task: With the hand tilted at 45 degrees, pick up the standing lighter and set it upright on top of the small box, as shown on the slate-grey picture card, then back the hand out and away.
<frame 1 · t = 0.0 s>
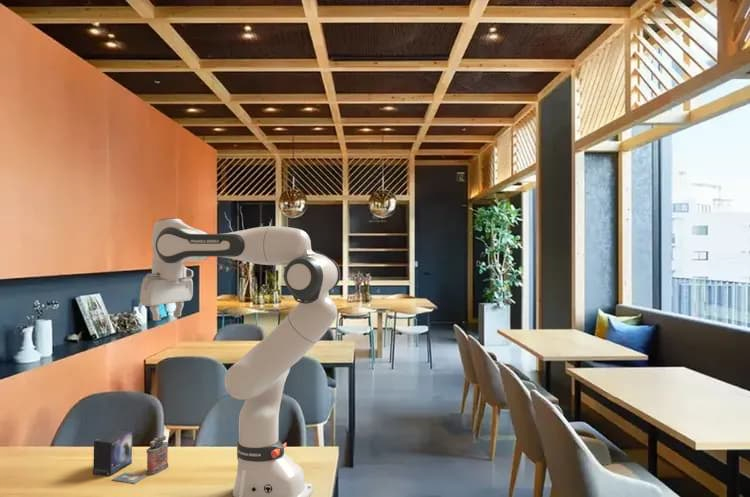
hand: (167, 318, 162), 48 cm above the table, tool pointing down, fingers open, 8 cm apart
small box: (113, 469, 168), on the table
lighter: (157, 471, 167), on the table
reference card: (129, 478, 161), on the table
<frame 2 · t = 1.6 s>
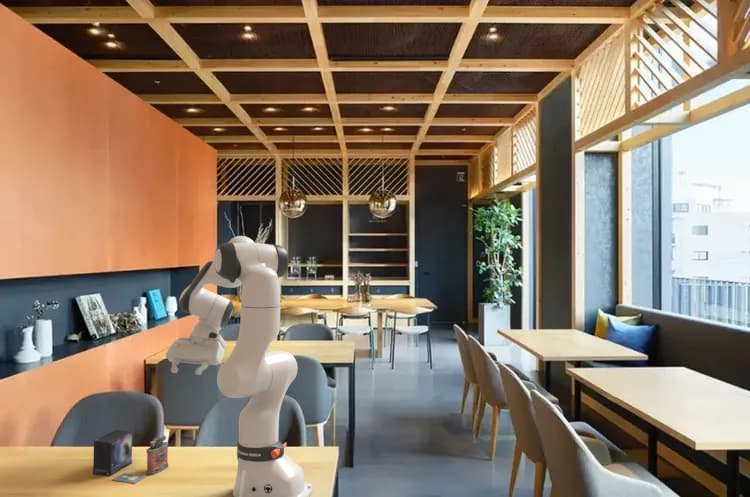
hand: (185, 372, 181), 27 cm above the table, tool tilted 45°, fingers open, 8 cm apart
nothing on the table moved.
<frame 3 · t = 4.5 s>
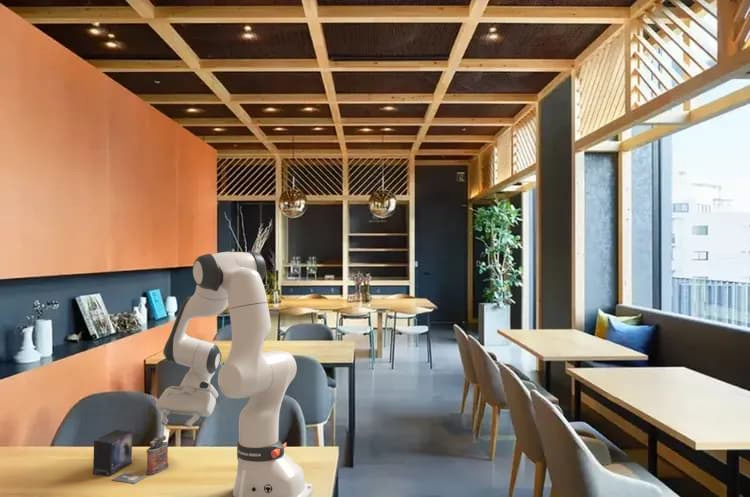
hand: (175, 425, 176), 11 cm above the table, tool tilted 45°, fingers open, 8 cm apart
nothing on the table moved.
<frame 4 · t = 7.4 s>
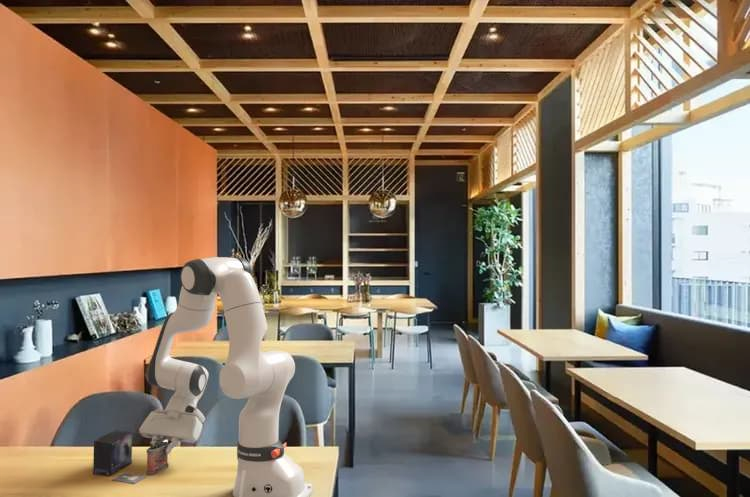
hand: (159, 452, 168), 5 cm above the table, tool tilted 45°, fingers closed on lighter, 3 cm apart
lighter: (157, 471, 167), on the table, touching gripper
everything else where it was.
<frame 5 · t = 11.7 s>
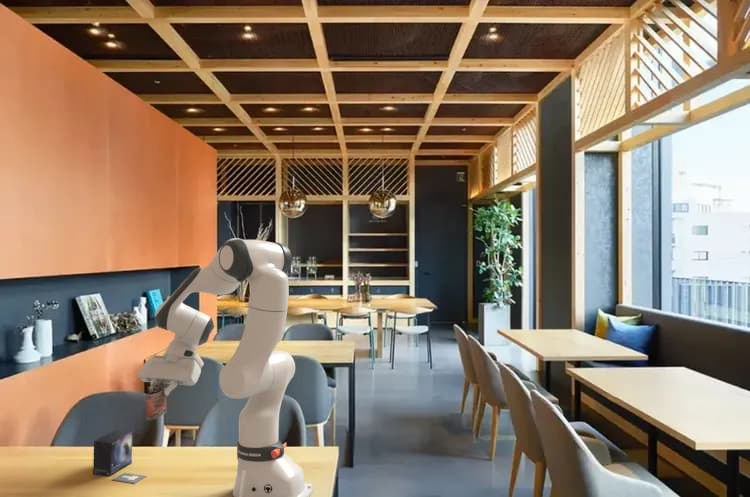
hand: (158, 394, 168), 23 cm above the table, tool tilted 45°, fingers closed on lighter, 3 cm apart
lighter: (156, 415, 168), point 17 cm above the table, touching gripper
everything else where it was.
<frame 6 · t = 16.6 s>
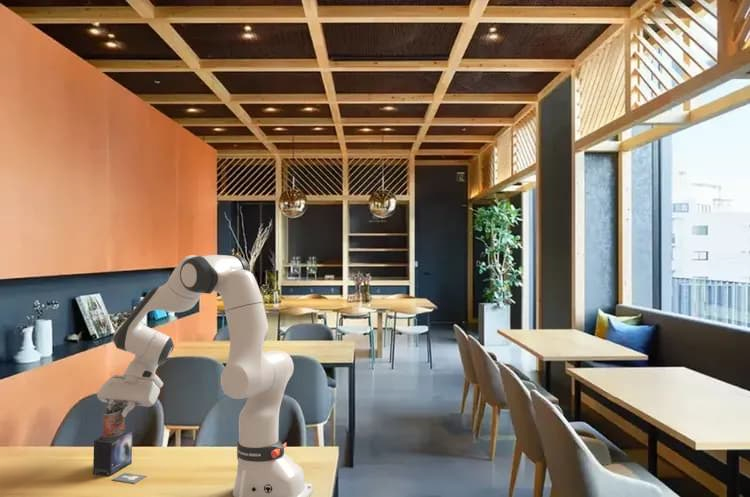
hand: (115, 415, 169), 16 cm above the table, tool tilted 45°, fingers closed on lighter, 3 cm apart
small box: (113, 469, 168), on the table, touching lighter
lighter: (114, 435, 169), point 10 cm above the table, touching gripper, small box
when the fingers open (16 cm above the table, at t = 16.7 s): lighter stays where it is, resting on small box.
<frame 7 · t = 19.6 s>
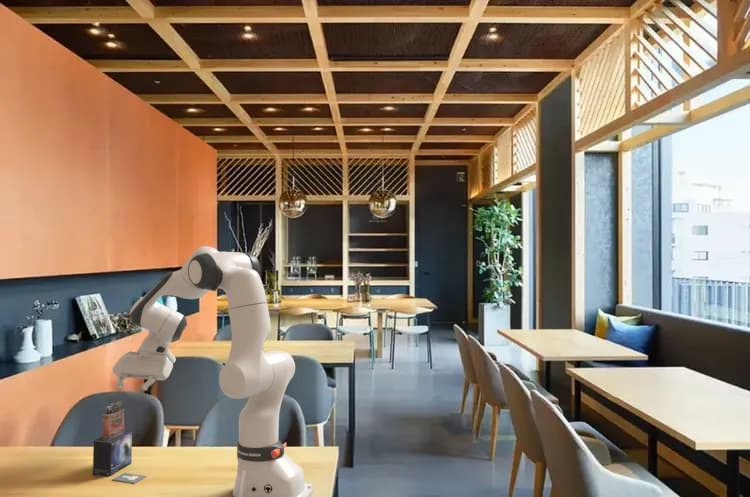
hand: (130, 388, 176), 23 cm above the table, tool tilted 45°, fingers open, 8 cm apart
lighter: (113, 436, 169), point 10 cm above the table, touching small box
everything else where it was.
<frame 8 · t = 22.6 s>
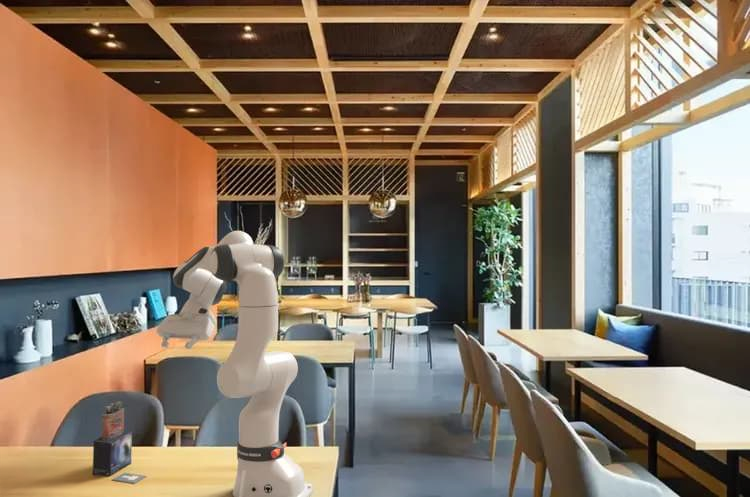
hand: (175, 347, 184), 35 cm above the table, tool tilted 45°, fingers open, 8 cm apart
nothing on the table moved.
at the end: lighter 0.3 cm off-centre on the small box, point 10.5 cm above the small box's base; lighter tilted 0°; the gripper is holding nothing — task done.
